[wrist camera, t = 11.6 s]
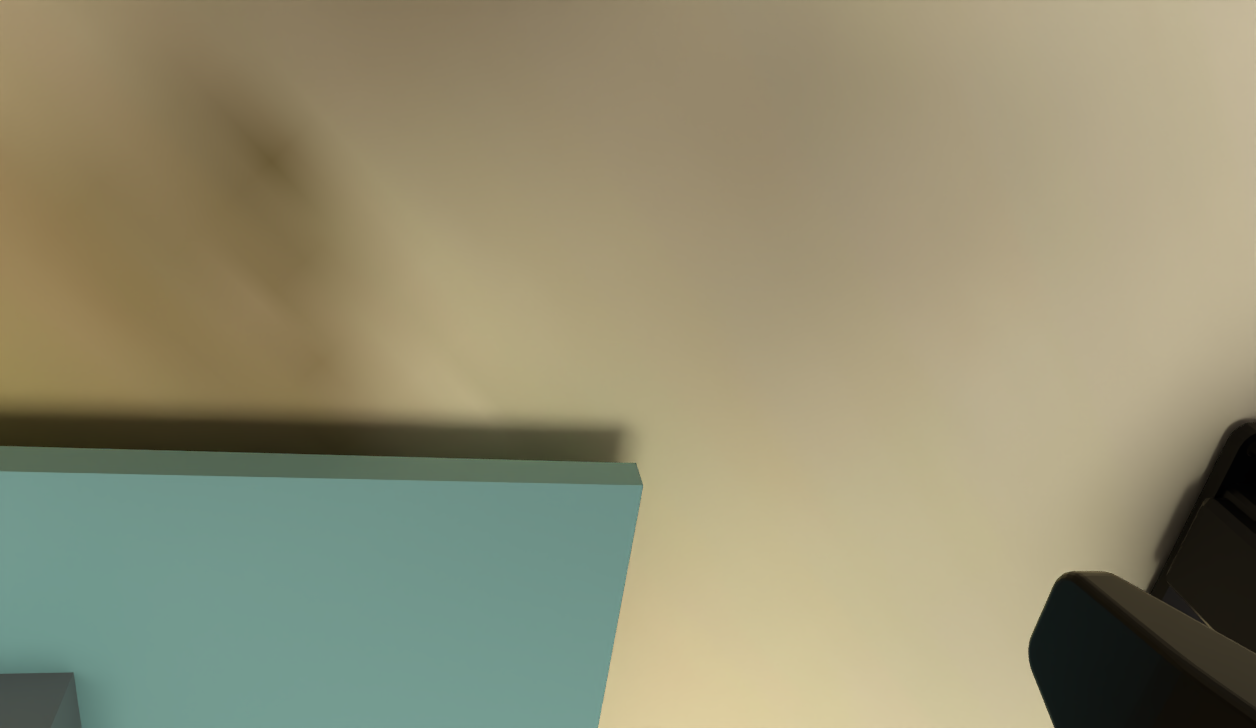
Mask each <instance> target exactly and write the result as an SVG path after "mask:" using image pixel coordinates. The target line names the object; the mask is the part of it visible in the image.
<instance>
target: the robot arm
mask: <svg viewBox="0 0 1256 728" xmlns="http://www.w3.org/2000/svg"><path fill="white" fill-rule="evenodd" d="M1028 654H1029V662H1030V667H1031V670H1032V673H1033V675H1034V678H1035V680H1036V683H1037V685H1038V688H1039V690H1040V693H1041V695H1042V698H1043V700H1044V703H1045V705H1046V708H1047V710H1048V713H1049V715H1050V718H1051V720H1052V723H1053V725H1054V728H1256V422H1253V423H1247V424H1244V425H1242V426H1240V427H1239V428H1237V429H1236V430H1235V431H1234V432H1233V433H1232V434H1231V436H1230V437H1229V439H1228V440H1227V442H1226V444H1225V446H1224V448H1223V450H1222V452H1221V454H1220V456H1219V458H1218V460H1217V462H1216V464H1215V466H1214V468H1213V470H1212V472H1211V474H1210V476H1209V478H1208V480H1207V482H1206V484H1205V486H1204V488H1203V490H1202V492H1201V494H1200V496H1199V498H1198V500H1197V502H1196V504H1195V506H1194V508H1193V510H1192V512H1191V514H1190V516H1189V518H1188V520H1187V522H1186V524H1185V526H1184V528H1183V530H1182V532H1181V534H1180V536H1179V538H1178V540H1177V542H1176V544H1175V546H1174V548H1173V550H1172V552H1171V554H1170V556H1169V558H1168V560H1167V563H1166V565H1165V567H1164V569H1163V571H1162V573H1161V575H1160V577H1159V579H1158V581H1157V583H1156V585H1155V587H1154V589H1153V591H1152V593H1151V595H1150V594H1148V593H1147V592H1145V591H1143V590H1141V589H1140V588H1138V587H1136V586H1134V585H1132V584H1131V583H1129V582H1127V581H1125V580H1123V579H1122V578H1120V577H1118V576H1116V575H1114V574H1112V573H1108V572H1102V571H1071V572H1067V573H1064V574H1063V575H1062V576H1061V577H1059V578H1058V579H1057V580H1056V582H1055V584H1054V585H1053V587H1052V590H1051V592H1050V594H1049V597H1048V599H1047V601H1046V603H1045V606H1044V608H1043V610H1042V612H1041V615H1040V617H1039V619H1038V622H1037V624H1036V626H1035V628H1034V631H1033V633H1032V635H1031V638H1030V641H1029V648H1028Z"/></svg>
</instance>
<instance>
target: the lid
mask: <svg viewBox="0 0 1256 728" xmlns="http://www.w3.org/2000/svg"><path fill="white" fill-rule="evenodd" d="M642 489H643V483H642V480H641V477H640V474H639V471H638V468H637V465H636V463H616V462H579V461H542V460H504V459H467V458H430V457H393V456H356V455H319V454H281V453H244V452H207V451H170V450H133V449H96V448H58V447H21V446H0V728H598V724H599V719H600V713H601V708H602V703H603V697H604V692H605V687H606V681H607V676H608V671H609V665H610V660H611V655H612V649H613V644H614V638H615V633H616V628H617V622H618V617H619V612H620V606H621V601H622V596H623V590H624V585H625V580H626V574H627V569H628V564H629V558H630V553H631V548H632V542H633V537H634V532H635V526H636V521H637V516H638V510H639V505H640V500H641V494H642Z"/></svg>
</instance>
